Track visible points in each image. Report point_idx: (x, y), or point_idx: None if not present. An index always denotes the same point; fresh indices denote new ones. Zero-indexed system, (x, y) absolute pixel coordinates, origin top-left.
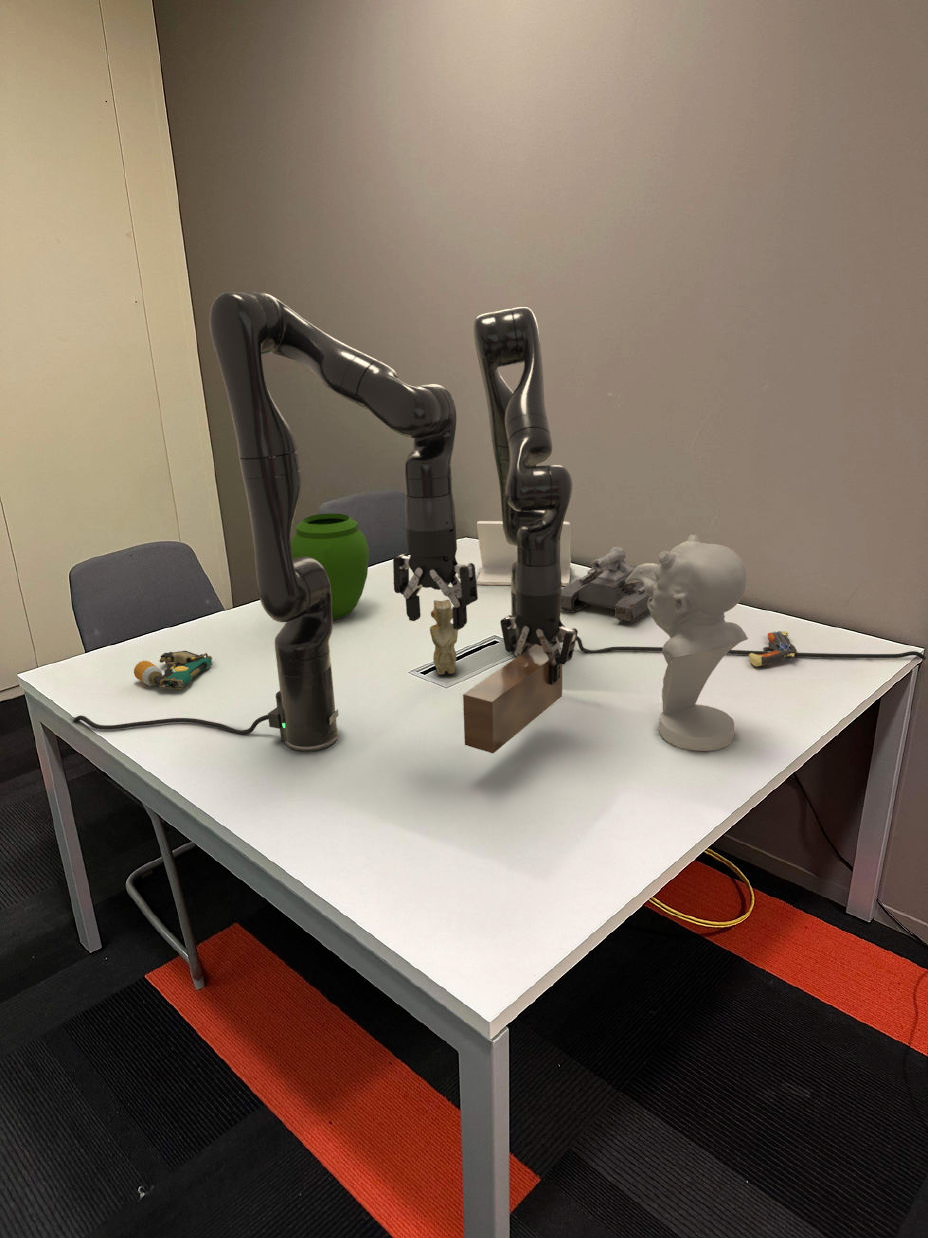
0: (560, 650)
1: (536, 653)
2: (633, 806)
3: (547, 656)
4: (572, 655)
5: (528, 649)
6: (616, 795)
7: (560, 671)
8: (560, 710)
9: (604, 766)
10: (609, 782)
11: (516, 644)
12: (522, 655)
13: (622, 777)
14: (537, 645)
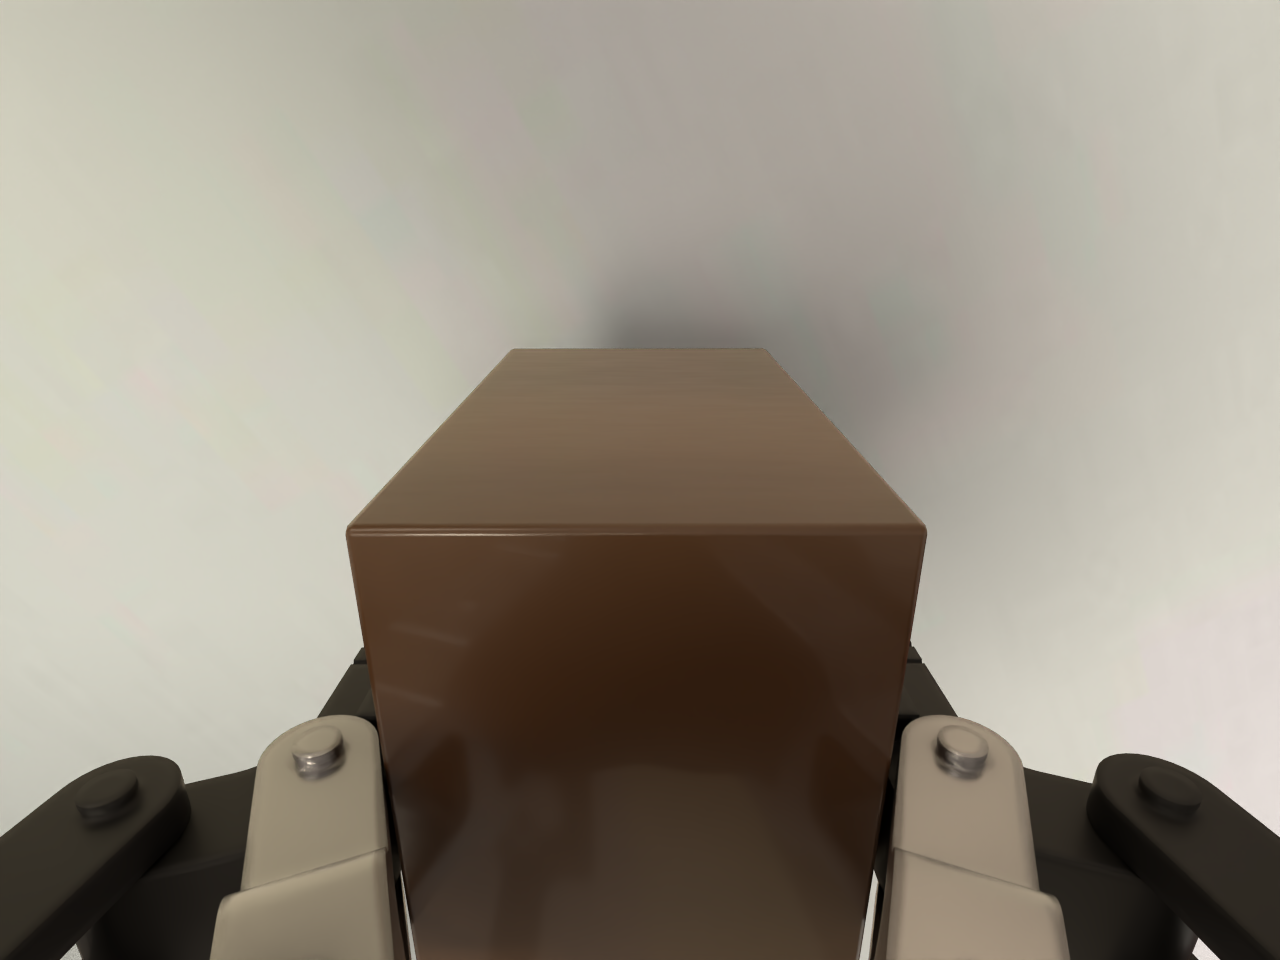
0: (900, 571)
1: (590, 830)
2: (1241, 718)
3: (793, 841)
4: (1258, 826)
5: (393, 771)
6: (1160, 686)
7: (923, 672)
8: (580, 12)
9: (1057, 512)
10: (1111, 618)
11: (174, 889)
12: (454, 951)
13: (1161, 556)
14: (412, 568)
